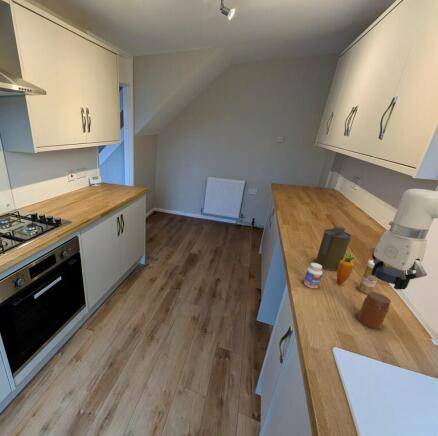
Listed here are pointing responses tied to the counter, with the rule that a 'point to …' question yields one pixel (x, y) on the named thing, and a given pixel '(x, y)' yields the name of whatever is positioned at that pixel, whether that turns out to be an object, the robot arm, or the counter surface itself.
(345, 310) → the counter surface
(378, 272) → the lid
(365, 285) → the sprinkles bottle
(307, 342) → the counter surface
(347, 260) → the carrot
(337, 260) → the canister
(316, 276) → the pill bottle
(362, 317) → the jar
